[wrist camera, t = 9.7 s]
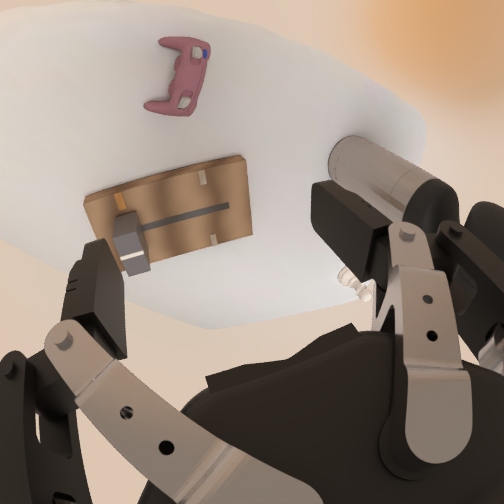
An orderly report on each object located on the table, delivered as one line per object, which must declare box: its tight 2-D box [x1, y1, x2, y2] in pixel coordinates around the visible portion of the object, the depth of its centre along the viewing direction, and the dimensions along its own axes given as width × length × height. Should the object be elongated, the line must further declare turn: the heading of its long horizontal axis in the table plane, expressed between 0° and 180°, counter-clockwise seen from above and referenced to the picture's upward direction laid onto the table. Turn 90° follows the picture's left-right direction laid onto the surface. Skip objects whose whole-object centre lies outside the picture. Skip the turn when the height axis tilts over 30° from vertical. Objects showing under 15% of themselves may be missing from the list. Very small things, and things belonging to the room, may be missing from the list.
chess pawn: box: [338, 266, 372, 302], centre depth 59 cm, size 5×5×9 cm
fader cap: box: [112, 211, 151, 277], centre depth 34 cm, size 3×6×5 cm, turn 5°
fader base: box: [83, 155, 253, 272], centre depth 38 cm, size 22×12×3 cm, turn 95°
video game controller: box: [144, 37, 211, 116], centre depth 27 cm, size 10×5×7 cm, turn 165°
